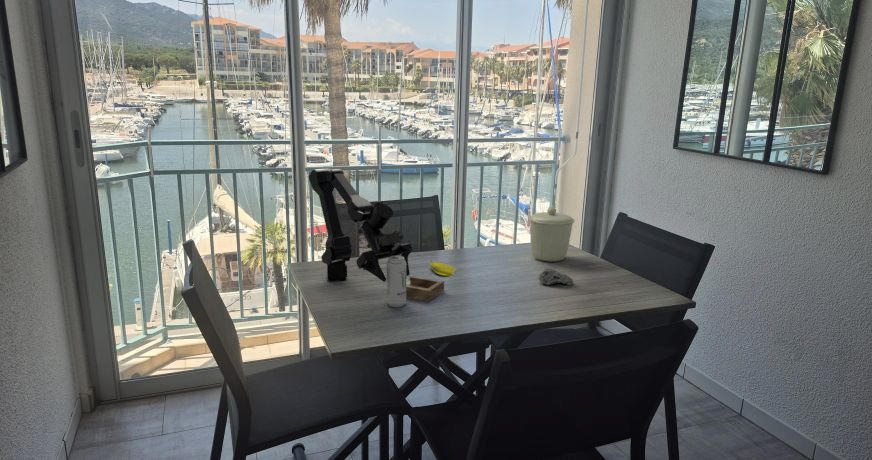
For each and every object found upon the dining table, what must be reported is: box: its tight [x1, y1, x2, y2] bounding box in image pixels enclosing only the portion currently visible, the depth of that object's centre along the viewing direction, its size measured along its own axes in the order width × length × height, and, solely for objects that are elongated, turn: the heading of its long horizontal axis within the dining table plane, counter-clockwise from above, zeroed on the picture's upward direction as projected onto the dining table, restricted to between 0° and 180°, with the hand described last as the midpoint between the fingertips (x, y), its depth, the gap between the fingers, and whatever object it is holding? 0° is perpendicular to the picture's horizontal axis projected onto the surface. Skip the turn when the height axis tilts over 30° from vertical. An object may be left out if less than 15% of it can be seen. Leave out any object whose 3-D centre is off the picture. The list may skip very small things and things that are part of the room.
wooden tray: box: [406, 275, 445, 302], centre depth 190 cm, size 12×11×4 cm
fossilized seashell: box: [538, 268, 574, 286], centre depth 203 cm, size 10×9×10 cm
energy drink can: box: [386, 256, 407, 308], centre depth 179 cm, size 6×6×15 cm
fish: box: [429, 261, 457, 277], centre depth 215 cm, size 3×16×10 cm
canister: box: [528, 206, 575, 263], centre depth 232 cm, size 18×18×21 cm
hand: (397, 278), depth 178 cm, fingers open, 9 cm apart
